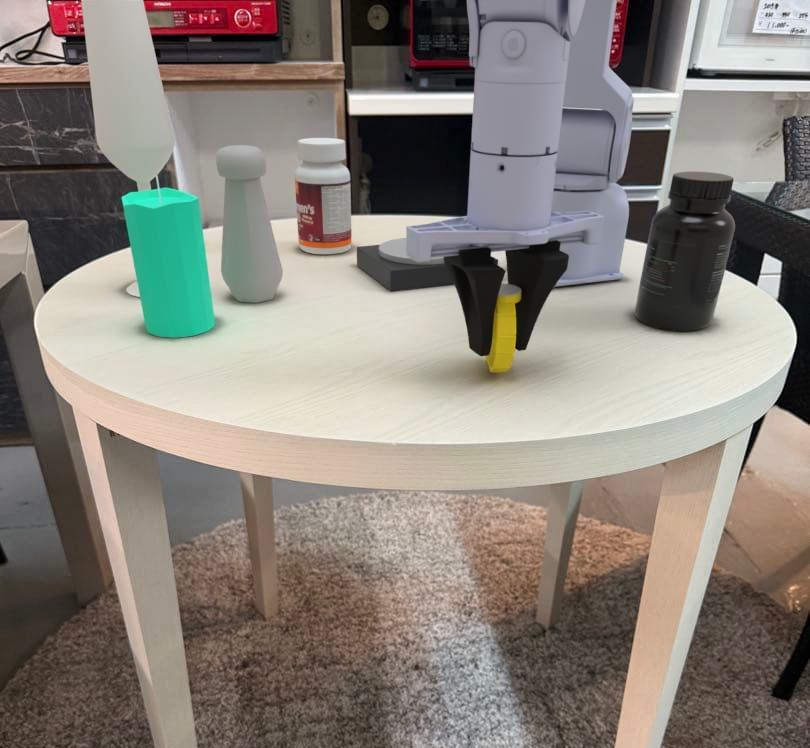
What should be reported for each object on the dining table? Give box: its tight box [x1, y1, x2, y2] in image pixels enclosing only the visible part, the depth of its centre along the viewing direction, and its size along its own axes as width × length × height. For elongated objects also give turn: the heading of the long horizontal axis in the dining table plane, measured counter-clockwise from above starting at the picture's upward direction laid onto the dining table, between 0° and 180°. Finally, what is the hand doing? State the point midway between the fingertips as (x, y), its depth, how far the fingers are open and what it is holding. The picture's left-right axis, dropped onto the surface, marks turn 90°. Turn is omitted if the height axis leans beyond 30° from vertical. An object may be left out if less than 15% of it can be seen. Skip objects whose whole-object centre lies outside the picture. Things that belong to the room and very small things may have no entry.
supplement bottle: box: [634, 171, 736, 332], centre depth 66 cm, size 7×7×12 cm
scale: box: [356, 237, 499, 292], centre depth 80 cm, size 12×10×3 cm
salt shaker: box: [215, 144, 284, 304], centre depth 70 cm, size 6×6×13 cm
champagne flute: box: [80, 0, 176, 298], centre depth 68 cm, size 7×7×24 cm
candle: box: [121, 175, 216, 339], centre depth 63 cm, size 6×6×12 cm
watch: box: [484, 283, 522, 373], centre depth 57 cm, size 6×3×6 cm, turn 4°
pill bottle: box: [294, 137, 353, 255], centre depth 85 cm, size 6×6×11 cm
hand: (497, 349), depth 58 cm, fingers closed on watch, 2 cm apart
